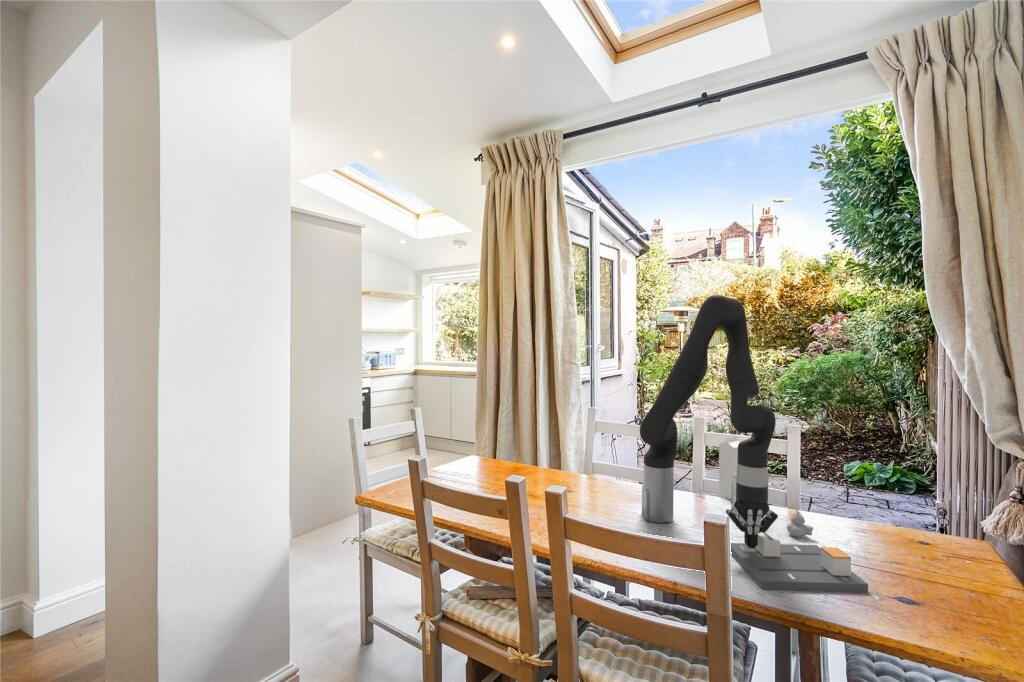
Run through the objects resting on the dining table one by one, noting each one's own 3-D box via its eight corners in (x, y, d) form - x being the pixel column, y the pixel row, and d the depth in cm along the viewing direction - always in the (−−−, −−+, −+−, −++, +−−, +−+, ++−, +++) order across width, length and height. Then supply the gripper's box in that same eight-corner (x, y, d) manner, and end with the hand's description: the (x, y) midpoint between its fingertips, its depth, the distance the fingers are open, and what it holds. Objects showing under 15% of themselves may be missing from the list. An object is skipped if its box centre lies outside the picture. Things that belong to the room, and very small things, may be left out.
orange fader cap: (833, 575, 113) (833, 556, 113) (820, 565, 118) (820, 547, 118) (850, 575, 113) (851, 557, 112) (837, 565, 118) (837, 547, 117)
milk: (743, 497, 173) (744, 437, 172) (732, 500, 170) (734, 439, 169) (728, 492, 178) (729, 434, 177) (718, 495, 175) (719, 435, 174)
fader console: (761, 589, 111) (761, 580, 111) (726, 550, 131) (727, 542, 131) (868, 592, 109) (868, 583, 109) (816, 552, 129) (816, 544, 129)
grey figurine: (788, 530, 144) (788, 504, 143) (814, 536, 140) (814, 509, 139) (785, 536, 139) (785, 509, 139) (811, 543, 135) (812, 515, 135)
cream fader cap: (764, 556, 122) (764, 539, 122) (755, 547, 127) (755, 530, 127) (780, 556, 122) (780, 539, 122) (770, 547, 127) (770, 531, 127)
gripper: (731, 485, 121) (731, 552, 121) (785, 486, 120) (784, 554, 121) (720, 476, 128) (719, 540, 129) (770, 477, 128) (769, 541, 128)
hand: (751, 546), depth 125 cm, fingers closed
